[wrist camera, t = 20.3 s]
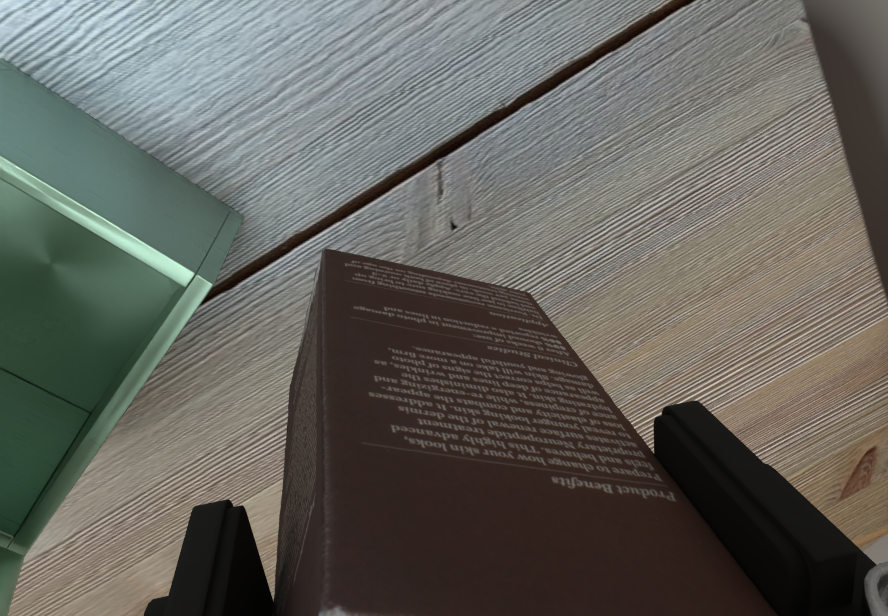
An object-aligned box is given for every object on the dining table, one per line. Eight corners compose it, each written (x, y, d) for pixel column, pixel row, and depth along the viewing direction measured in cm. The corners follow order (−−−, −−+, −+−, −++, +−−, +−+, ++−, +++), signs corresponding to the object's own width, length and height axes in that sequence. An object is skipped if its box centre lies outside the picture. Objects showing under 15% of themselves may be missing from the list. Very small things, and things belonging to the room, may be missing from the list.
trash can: (2, 58, 34) (-149, 65, 23) (244, 216, 39) (214, 284, 28) (-140, 303, 37) (-332, 412, 26) (101, 423, 42) (23, 557, 31)
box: (286, 397, 19) (235, 902, 8) (321, 242, 18) (319, 586, 6) (491, 431, 20) (694, 897, 9) (539, 290, 19) (843, 640, 8)
